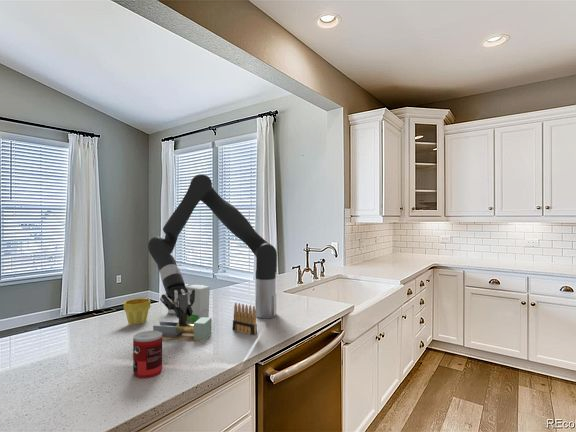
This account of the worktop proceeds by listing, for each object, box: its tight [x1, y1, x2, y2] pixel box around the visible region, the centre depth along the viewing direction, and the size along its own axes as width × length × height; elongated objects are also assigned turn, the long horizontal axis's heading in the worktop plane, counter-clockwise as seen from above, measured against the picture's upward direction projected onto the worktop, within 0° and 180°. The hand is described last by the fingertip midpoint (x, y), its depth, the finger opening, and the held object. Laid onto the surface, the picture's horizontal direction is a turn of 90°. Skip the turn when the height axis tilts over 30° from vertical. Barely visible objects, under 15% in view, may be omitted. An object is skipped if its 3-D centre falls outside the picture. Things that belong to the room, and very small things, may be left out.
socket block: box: [193, 317, 212, 341], centre depth 125 cm, size 4×7×6 cm, turn 173°
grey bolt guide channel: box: [152, 320, 182, 338], centre depth 126 cm, size 9×5×4 cm, turn 82°
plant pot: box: [123, 297, 151, 326], centre depth 142 cm, size 10×10×10 cm
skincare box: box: [186, 283, 211, 323], centre depth 145 cm, size 8×7×16 cm
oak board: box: [162, 331, 213, 343], centre depth 126 cm, size 20×10×1 cm, turn 83°
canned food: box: [132, 330, 163, 379], centre depth 99 cm, size 8×8×11 cm
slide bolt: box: [176, 293, 194, 334], centre depth 125 cm, size 11×3×14 cm, turn 82°
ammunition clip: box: [232, 302, 258, 336], centre depth 130 cm, size 11×2×12 cm, turn 59°
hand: (185, 316), depth 124 cm, fingers closed on slide bolt, 3 cm apart
